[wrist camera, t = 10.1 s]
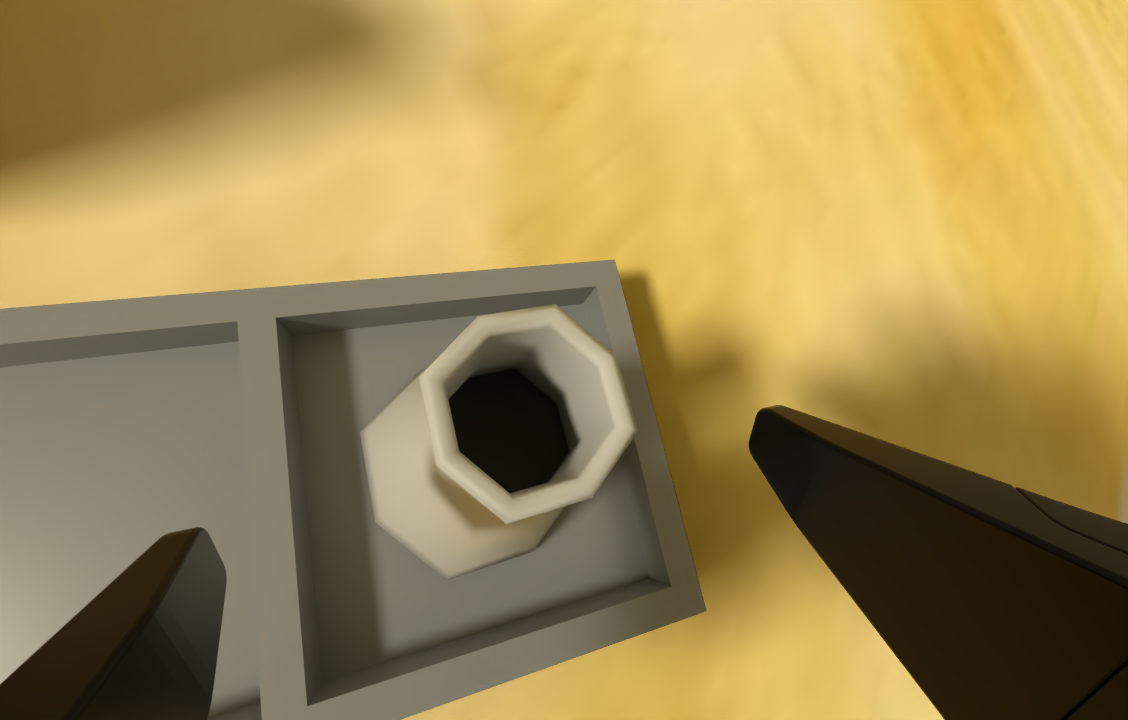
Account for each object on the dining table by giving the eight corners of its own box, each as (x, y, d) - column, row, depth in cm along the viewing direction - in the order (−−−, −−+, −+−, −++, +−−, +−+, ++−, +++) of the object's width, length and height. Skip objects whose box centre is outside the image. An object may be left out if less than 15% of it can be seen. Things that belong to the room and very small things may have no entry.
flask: (509, 324, 18) (592, 137, 9) (613, 489, 17) (825, 477, 8) (320, 424, 15) (148, 307, 6) (434, 623, 15) (440, 841, 5)
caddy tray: (669, 596, 17) (706, 610, 15) (-307, 922, 10) (-526, 1048, 8) (593, 286, 20) (614, 259, 18) (-216, 366, 13) (-357, 337, 11)
